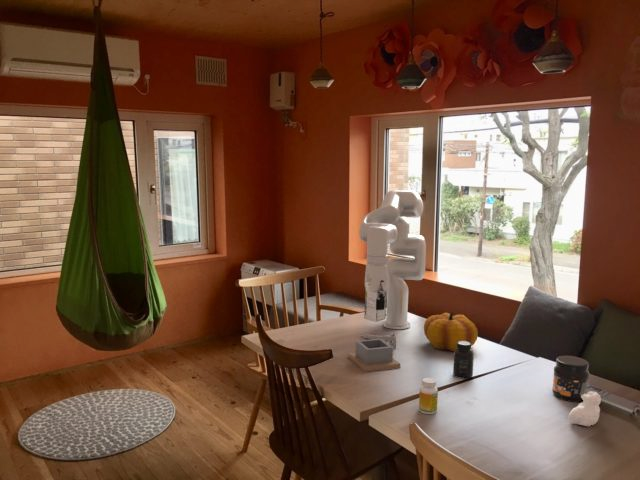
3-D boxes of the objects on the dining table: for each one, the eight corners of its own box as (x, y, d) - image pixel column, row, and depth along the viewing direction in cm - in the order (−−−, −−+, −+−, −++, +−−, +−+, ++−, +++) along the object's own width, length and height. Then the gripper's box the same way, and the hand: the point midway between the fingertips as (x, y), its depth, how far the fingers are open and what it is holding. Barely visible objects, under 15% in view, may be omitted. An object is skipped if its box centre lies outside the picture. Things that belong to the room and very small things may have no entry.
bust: (572, 435, 158) (597, 416, 151) (555, 412, 162) (579, 392, 155) (597, 426, 164) (622, 406, 157) (579, 403, 169) (604, 383, 161)
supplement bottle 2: (476, 375, 196) (478, 342, 194) (466, 380, 191) (468, 347, 189) (458, 370, 200) (460, 338, 199) (449, 375, 195) (450, 342, 194)
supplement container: (544, 391, 183) (547, 357, 181) (568, 387, 187) (571, 353, 185) (570, 405, 173) (573, 368, 171) (594, 399, 177) (598, 364, 175)
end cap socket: (348, 356, 213) (348, 339, 212) (381, 353, 217) (382, 335, 216) (365, 371, 198) (365, 353, 197) (400, 367, 202) (400, 349, 201)
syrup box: (374, 316, 209) (375, 278, 207) (386, 319, 205) (387, 281, 203) (364, 319, 205) (365, 280, 203) (376, 322, 201) (377, 283, 199)
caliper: (396, 349, 222) (396, 334, 221) (394, 350, 221) (394, 335, 220) (362, 336, 238) (362, 322, 237) (360, 336, 237) (360, 322, 236)
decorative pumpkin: (487, 349, 224) (489, 313, 221) (449, 359, 211) (451, 321, 209) (449, 335, 240) (451, 302, 238) (412, 344, 228) (413, 309, 226)
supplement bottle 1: (433, 416, 164) (434, 385, 163) (416, 411, 167) (417, 381, 165) (439, 409, 169) (440, 379, 167) (422, 405, 171) (424, 375, 170)
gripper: (358, 256, 209) (357, 301, 211) (377, 264, 192) (376, 314, 195) (376, 255, 211) (375, 300, 214) (396, 263, 195) (395, 312, 197)
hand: (375, 306), depth 204 cm, fingers closed on syrup box, 7 cm apart
